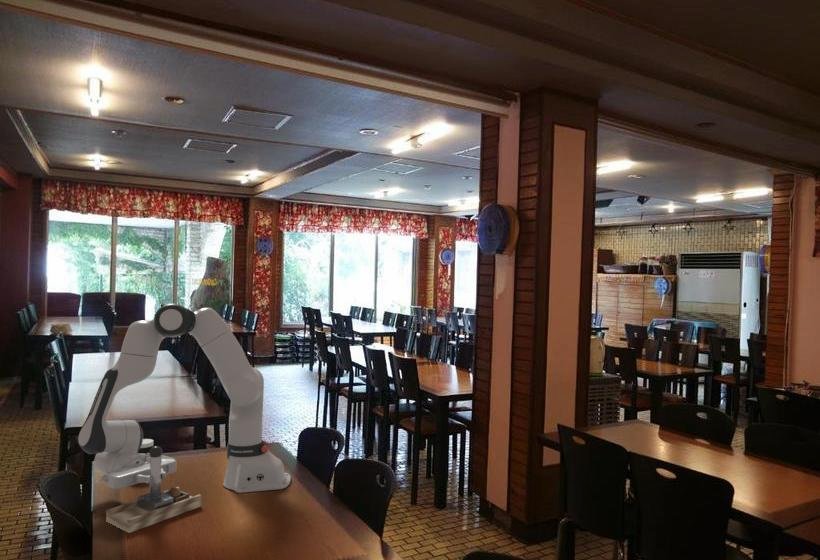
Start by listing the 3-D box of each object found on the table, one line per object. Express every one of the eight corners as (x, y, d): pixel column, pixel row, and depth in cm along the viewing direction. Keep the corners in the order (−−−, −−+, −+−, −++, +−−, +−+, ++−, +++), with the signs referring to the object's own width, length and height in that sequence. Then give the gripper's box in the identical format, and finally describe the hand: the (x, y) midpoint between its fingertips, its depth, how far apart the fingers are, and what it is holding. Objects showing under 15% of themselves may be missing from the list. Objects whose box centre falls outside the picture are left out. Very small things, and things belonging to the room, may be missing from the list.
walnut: (182, 498, 180) (182, 485, 180) (178, 503, 176) (178, 490, 176) (168, 498, 179) (169, 485, 179) (164, 503, 175) (164, 490, 175)
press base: (129, 533, 160) (129, 519, 160) (106, 522, 167) (106, 508, 167) (201, 506, 179) (201, 494, 179) (177, 497, 186) (177, 485, 186)
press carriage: (154, 513, 168) (155, 451, 168) (137, 506, 173) (137, 446, 173) (175, 506, 173) (176, 446, 173) (158, 499, 178) (158, 440, 178)
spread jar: (139, 469, 212) (139, 437, 212) (169, 469, 212) (170, 438, 211) (121, 480, 200) (122, 447, 200) (154, 481, 200) (154, 447, 200)
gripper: (97, 467, 171) (123, 477, 163) (161, 450, 188) (187, 458, 180) (97, 488, 171) (123, 499, 164) (161, 470, 188) (187, 478, 180)
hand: (157, 477), depth 172 cm, fingers closed on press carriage, 3 cm apart
